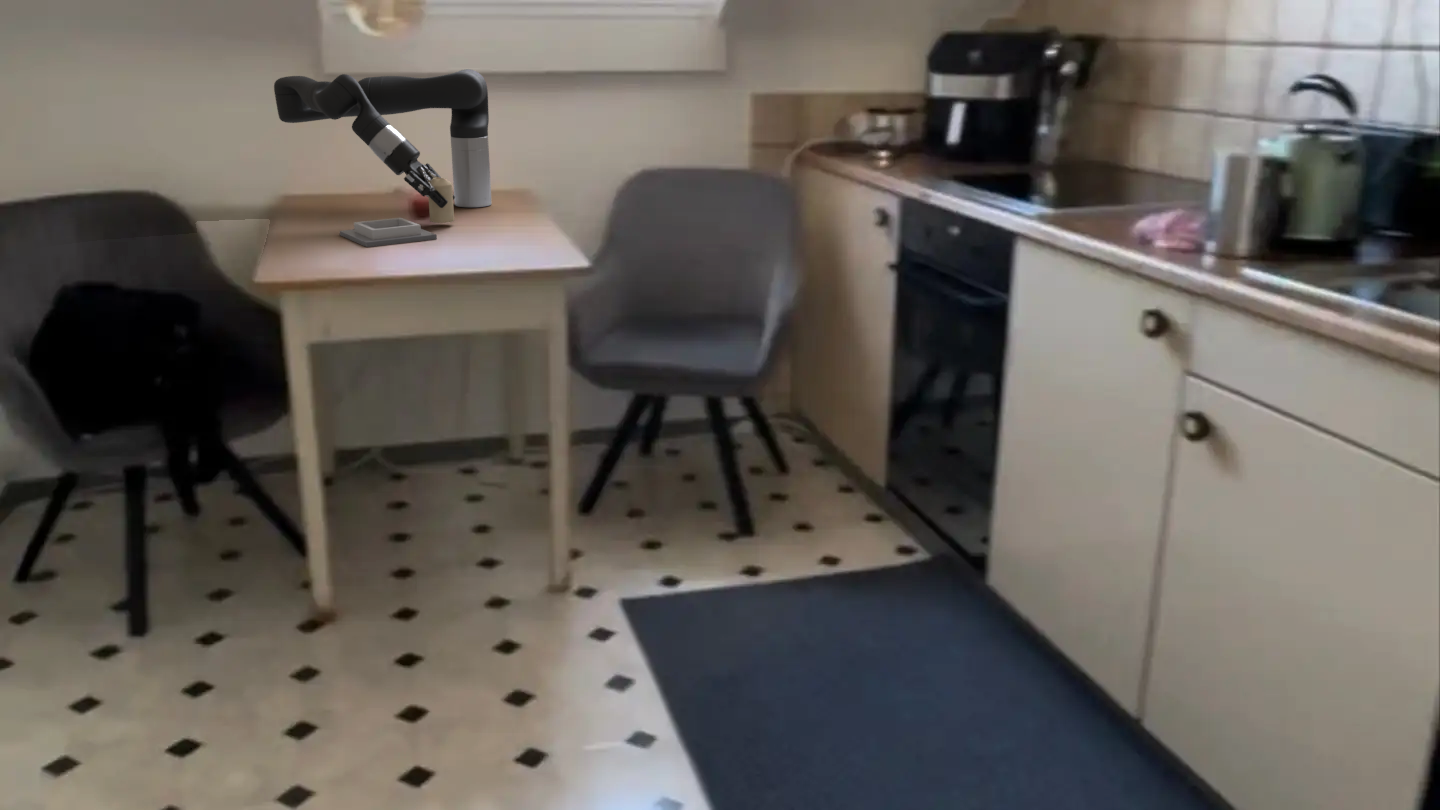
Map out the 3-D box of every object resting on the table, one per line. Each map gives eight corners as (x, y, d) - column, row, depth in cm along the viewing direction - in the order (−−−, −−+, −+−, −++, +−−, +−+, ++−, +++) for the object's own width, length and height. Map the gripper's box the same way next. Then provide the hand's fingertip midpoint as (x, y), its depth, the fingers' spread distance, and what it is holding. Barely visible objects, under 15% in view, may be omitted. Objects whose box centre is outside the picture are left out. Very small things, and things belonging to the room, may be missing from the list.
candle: (459, 221, 288) (456, 177, 285) (439, 224, 285) (436, 180, 281) (445, 217, 292) (442, 175, 289) (425, 220, 288) (422, 177, 285)
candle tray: (339, 235, 277) (338, 221, 276) (407, 227, 286) (406, 214, 285) (366, 247, 265) (365, 233, 264) (436, 239, 274) (435, 225, 273)
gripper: (393, 157, 292) (446, 208, 295) (373, 165, 278) (429, 219, 281) (414, 134, 289) (467, 186, 293) (394, 142, 276) (450, 196, 279)
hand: (448, 202), depth 287 cm, fingers closed on candle, 5 cm apart
